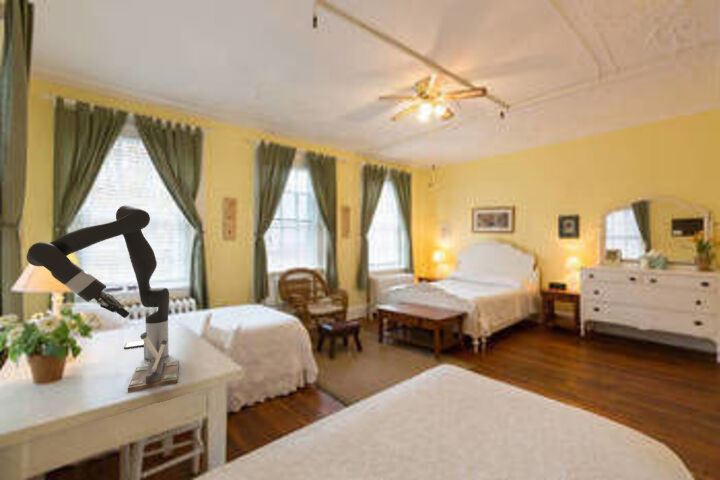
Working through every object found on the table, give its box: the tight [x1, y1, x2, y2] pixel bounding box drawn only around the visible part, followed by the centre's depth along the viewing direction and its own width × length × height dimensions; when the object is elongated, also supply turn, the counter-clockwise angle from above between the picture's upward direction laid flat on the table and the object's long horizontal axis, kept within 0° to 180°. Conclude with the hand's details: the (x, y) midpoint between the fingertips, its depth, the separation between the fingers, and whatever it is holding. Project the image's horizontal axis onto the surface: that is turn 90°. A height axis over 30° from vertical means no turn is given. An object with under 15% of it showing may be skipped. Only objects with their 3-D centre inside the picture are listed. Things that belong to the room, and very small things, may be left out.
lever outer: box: [151, 337, 169, 373], centre depth 126 cm, size 2×4×13 cm, turn 28°
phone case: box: [123, 340, 144, 350], centre depth 171 cm, size 9×2×16 cm
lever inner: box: [139, 331, 158, 360], centre depth 137 cm, size 2×4×13 cm, turn 27°
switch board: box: [127, 357, 180, 393], centre depth 132 cm, size 16×21×4 cm
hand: (127, 315), depth 122 cm, fingers closed
